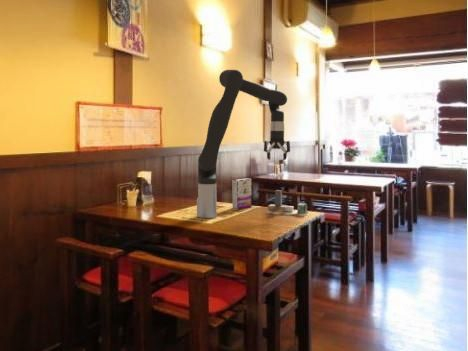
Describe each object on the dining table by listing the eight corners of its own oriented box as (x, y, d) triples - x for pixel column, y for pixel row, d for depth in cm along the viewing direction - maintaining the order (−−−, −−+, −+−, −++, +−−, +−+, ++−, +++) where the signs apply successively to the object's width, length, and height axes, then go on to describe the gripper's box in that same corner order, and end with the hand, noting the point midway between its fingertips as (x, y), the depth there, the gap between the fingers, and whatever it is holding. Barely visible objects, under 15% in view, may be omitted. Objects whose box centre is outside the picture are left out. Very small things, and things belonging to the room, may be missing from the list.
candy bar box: (246, 205, 236) (246, 178, 234) (251, 206, 233) (252, 178, 231) (231, 208, 229) (231, 179, 227) (237, 209, 225) (237, 180, 223)
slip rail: (266, 213, 214) (266, 203, 214) (271, 210, 223) (271, 200, 223) (304, 216, 207) (304, 206, 207) (307, 212, 216) (308, 202, 216)
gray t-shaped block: (268, 209, 217) (268, 190, 216) (270, 208, 220) (270, 189, 219) (292, 211, 213) (292, 191, 212) (293, 210, 216) (293, 190, 214)
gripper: (262, 130, 218) (262, 160, 219) (288, 130, 212) (287, 160, 214) (266, 130, 224) (266, 159, 226) (291, 130, 219) (291, 159, 221)
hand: (276, 159), depth 220 cm, fingers open, 8 cm apart
